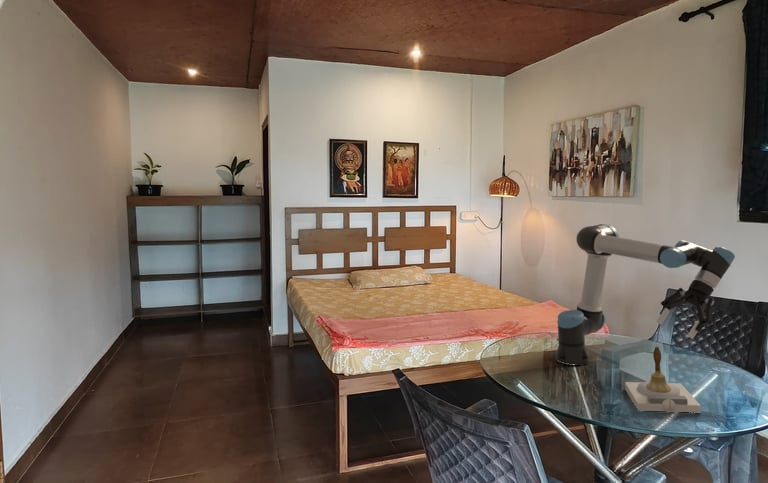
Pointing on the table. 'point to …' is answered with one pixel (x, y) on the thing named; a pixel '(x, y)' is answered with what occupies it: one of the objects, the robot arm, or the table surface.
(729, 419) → the table surface
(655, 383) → the hand bell
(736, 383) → the table surface
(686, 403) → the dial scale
